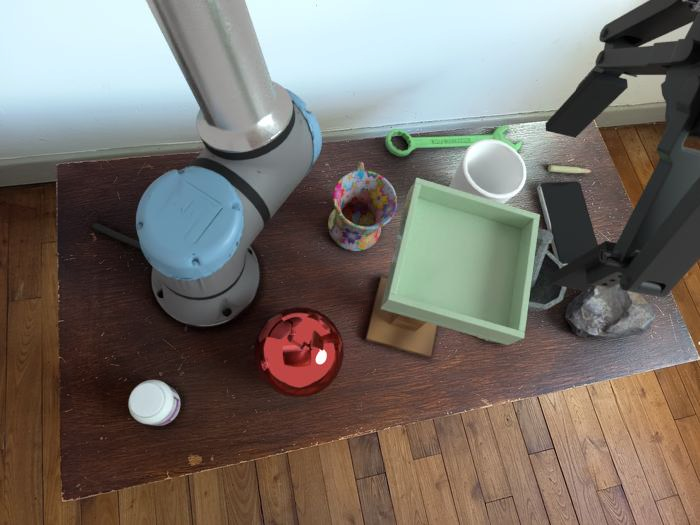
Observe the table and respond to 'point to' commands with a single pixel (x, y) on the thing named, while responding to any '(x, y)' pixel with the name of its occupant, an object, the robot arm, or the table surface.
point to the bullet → (567, 169)
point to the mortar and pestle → (544, 275)
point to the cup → (490, 171)
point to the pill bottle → (154, 403)
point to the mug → (361, 209)
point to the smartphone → (567, 220)
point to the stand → (399, 328)
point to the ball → (298, 352)
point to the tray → (463, 263)
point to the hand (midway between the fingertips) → (563, 202)
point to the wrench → (443, 141)
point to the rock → (609, 313)
